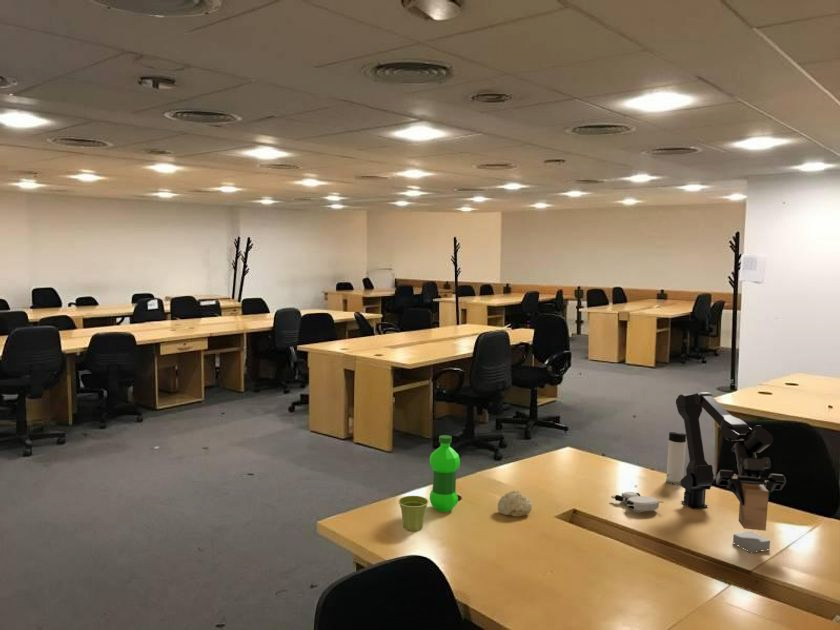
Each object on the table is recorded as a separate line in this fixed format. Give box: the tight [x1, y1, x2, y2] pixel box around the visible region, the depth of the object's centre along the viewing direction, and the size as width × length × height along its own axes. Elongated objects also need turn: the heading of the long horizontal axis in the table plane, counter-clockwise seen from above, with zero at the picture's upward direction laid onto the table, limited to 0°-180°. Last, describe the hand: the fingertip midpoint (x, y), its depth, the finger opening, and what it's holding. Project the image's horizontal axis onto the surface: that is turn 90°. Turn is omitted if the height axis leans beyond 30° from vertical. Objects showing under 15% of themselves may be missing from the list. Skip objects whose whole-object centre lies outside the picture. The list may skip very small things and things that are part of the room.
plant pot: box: [398, 495, 430, 532], centre depth 210 cm, size 9×9×9 cm
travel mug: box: [665, 431, 687, 485], centre depth 259 cm, size 6×7×20 cm
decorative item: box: [497, 490, 533, 517], centre depth 225 cm, size 12×9×10 cm
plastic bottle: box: [429, 434, 461, 513], centre depth 226 cm, size 10×10×25 cm
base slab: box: [732, 531, 771, 553], centre depth 202 cm, size 7×7×3 cm
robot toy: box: [611, 491, 665, 513], centre depth 232 cm, size 12×4×15 cm
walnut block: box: [738, 482, 769, 532], centre depth 201 cm, size 6×6×12 cm
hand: (754, 506), depth 200 cm, fingers closed on walnut block, 6 cm apart
